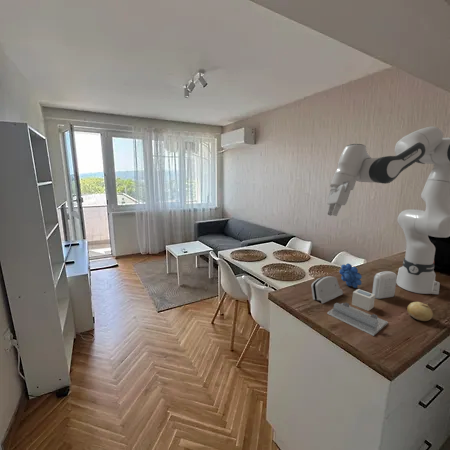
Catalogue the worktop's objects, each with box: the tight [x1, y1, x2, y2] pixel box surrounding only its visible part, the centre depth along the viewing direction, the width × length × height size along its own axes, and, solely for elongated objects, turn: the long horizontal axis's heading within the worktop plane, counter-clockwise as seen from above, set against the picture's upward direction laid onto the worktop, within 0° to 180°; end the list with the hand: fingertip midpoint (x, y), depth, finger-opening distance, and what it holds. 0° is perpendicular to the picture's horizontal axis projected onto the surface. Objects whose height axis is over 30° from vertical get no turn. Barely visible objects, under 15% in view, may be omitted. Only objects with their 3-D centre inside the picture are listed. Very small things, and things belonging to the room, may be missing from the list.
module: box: [351, 288, 376, 312], centre depth 107 cm, size 5×7×6 cm
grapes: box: [338, 263, 363, 289], centre depth 124 cm, size 12×7×12 cm, turn 34°
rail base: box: [327, 302, 389, 337], centre depth 98 cm, size 12×18×4 cm, turn 37°
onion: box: [406, 301, 434, 322], centre depth 97 cm, size 8×8×7 cm
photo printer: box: [371, 270, 398, 299], centre depth 114 cm, size 10×4×12 cm, turn 103°
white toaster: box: [310, 275, 344, 304], centre depth 116 cm, size 17×5×10 cm, turn 123°
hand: (331, 215), depth 101 cm, fingers open, 8 cm apart
